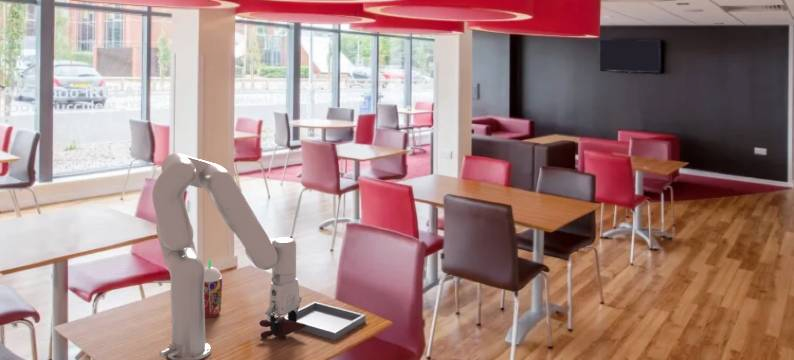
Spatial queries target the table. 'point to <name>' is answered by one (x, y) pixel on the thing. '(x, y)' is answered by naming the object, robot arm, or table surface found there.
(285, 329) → the icecream
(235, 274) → the table surface
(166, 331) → the table surface
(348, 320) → the serving tray
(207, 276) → the smoothie
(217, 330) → the table surface
